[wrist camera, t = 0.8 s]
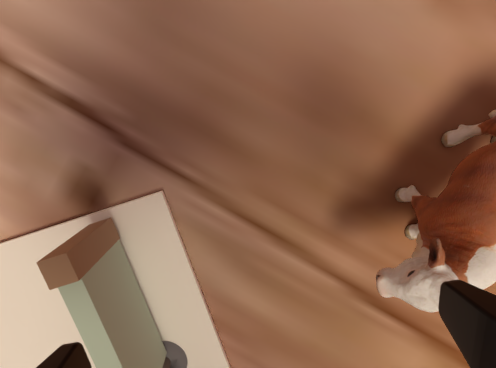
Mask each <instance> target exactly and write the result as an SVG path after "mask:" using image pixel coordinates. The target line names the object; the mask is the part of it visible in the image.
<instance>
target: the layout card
mask: <svg viewBox="0 0 496 368" xmlns="http://www.w3.org/2000/svg"><path fill="white" fill-rule="evenodd" d="M110 217H111V218H112V220H113V222H114V225H115V227H116V229H117V232H118V234H119V237H120V239H119V241H120V243H121V245H122V248H123V250H124V253H125V255H126V257H127V260H128V262H129V264H130V267H131V269H132V271H133V274H134V276H135V278H136V281H137V283H138V286H139V288H140V290H141V293H142V295H143V297H144V300H145V302H146V304H147V307H148V309H149V311H150V314H151V316H152V318H153V321H154V323H155V326H156V328H157V330H158V333H159V335H160V337H161V340H162V342H163V344H164V347H165V349H166V351H167V354H166V357H167V358H169V359H170V361H171V365H170V368H231V367H230V364H229V361H228V359H227V356H226V353H225V351H224V348H223V346H222V343H221V340H220V338H219V335H218V333H217V330H216V327H215V325H214V322H213V320H212V317H211V314H210V312H209V309H208V307H207V304H206V301H205V299H204V296H203V293H202V291H201V288H200V286H199V283H198V280H197V278H196V275H195V273H194V270H193V267H192V265H191V262H190V260H189V257H188V254H187V252H186V249H185V247H184V244H183V241H182V239H181V236H180V234H179V231H178V228H177V226H176V223H175V220H174V218H173V215H172V213H171V210H170V207H169V205H168V202H167V200H166V197H165V194H164V192H163V190H162V191H159V192H156V193H152V194H149V195H146V196H143V197H140V198H137V199H134V200H131V201H128V202H125V203H122V204H119V205H116V206H112V207H109V208H106V209H103V210H100V211H97V212H94V213H91V214H88V215H85V216H82V217H79V218H76V219H72V220H69V221H66V222H63V223H60V224H57V225H54V226H51V227H48V228H45V229H42V230H39V231H36V232H32V233H29V234H26V235H23V236H20V237H17V238H14V239H11V240H8V241H5V242H2V243H0V368H36V367H37V366H38V365H40V364H41V363H42V362H43V361H44V360H45V359H46V358H47V357H48V356H50V355H51V354H52V353H53V352H54V351H55V350H56V349H57V348H59V347H60V346H61V345H63V344H67V343H73V342H80V343H81V344H82V345H83V347H84V349H85V352H86V354H87V356H88V359H89V361H90V363H91V367H92V368H96V367H95V364H94V362H93V360H92V358H91V356H90V354H89V352H88V350H87V348H86V346H85V344H84V342H83V339H82V337H81V335H80V333H79V331H78V329H77V327H76V325H75V323H74V321H73V319H72V317H71V314H70V312H69V310H68V308H67V306H66V304H65V302H64V300H63V298H62V296H61V294H60V292H59V289H58V288H55V289H52V290H49V288H48V286H47V284H46V282H45V280H44V278H43V276H42V274H41V271H40V269H39V267H38V265H37V263H36V262H38V261H39V260H40V259H42V258H43V257H45V256H46V255H47V254H49V253H50V252H52V251H53V250H54V249H56V248H57V247H58V246H60V245H61V244H63V243H64V242H65V241H67V240H68V239H70V238H71V237H72V236H74V235H75V234H77V233H78V232H79V231H81V230H82V229H84V228H85V227H86V226H88V225H89V224H92V223H95V222H98V221H101V220H104V219H107V218H110Z"/></svg>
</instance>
